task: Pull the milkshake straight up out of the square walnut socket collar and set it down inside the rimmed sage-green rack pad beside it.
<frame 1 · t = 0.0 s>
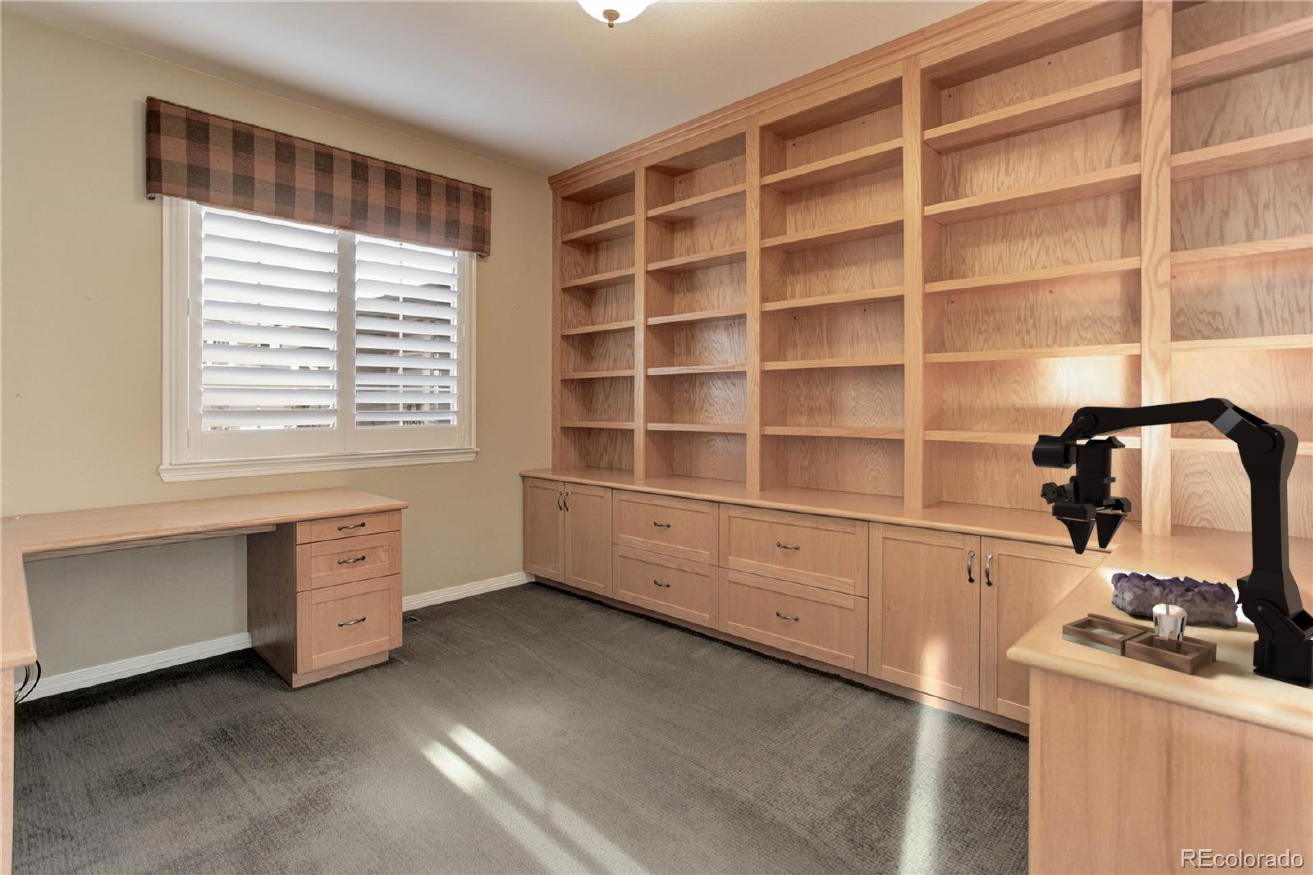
hand: (1091, 551, 125), 15 cm above the worktop, fingers open, 9 cm apart
milkshake: (1167, 660, 109), resting in divided wooden tray
divided wooden tray: (1133, 650, 113), on the worktop
geode: (1171, 618, 131), on the worktop
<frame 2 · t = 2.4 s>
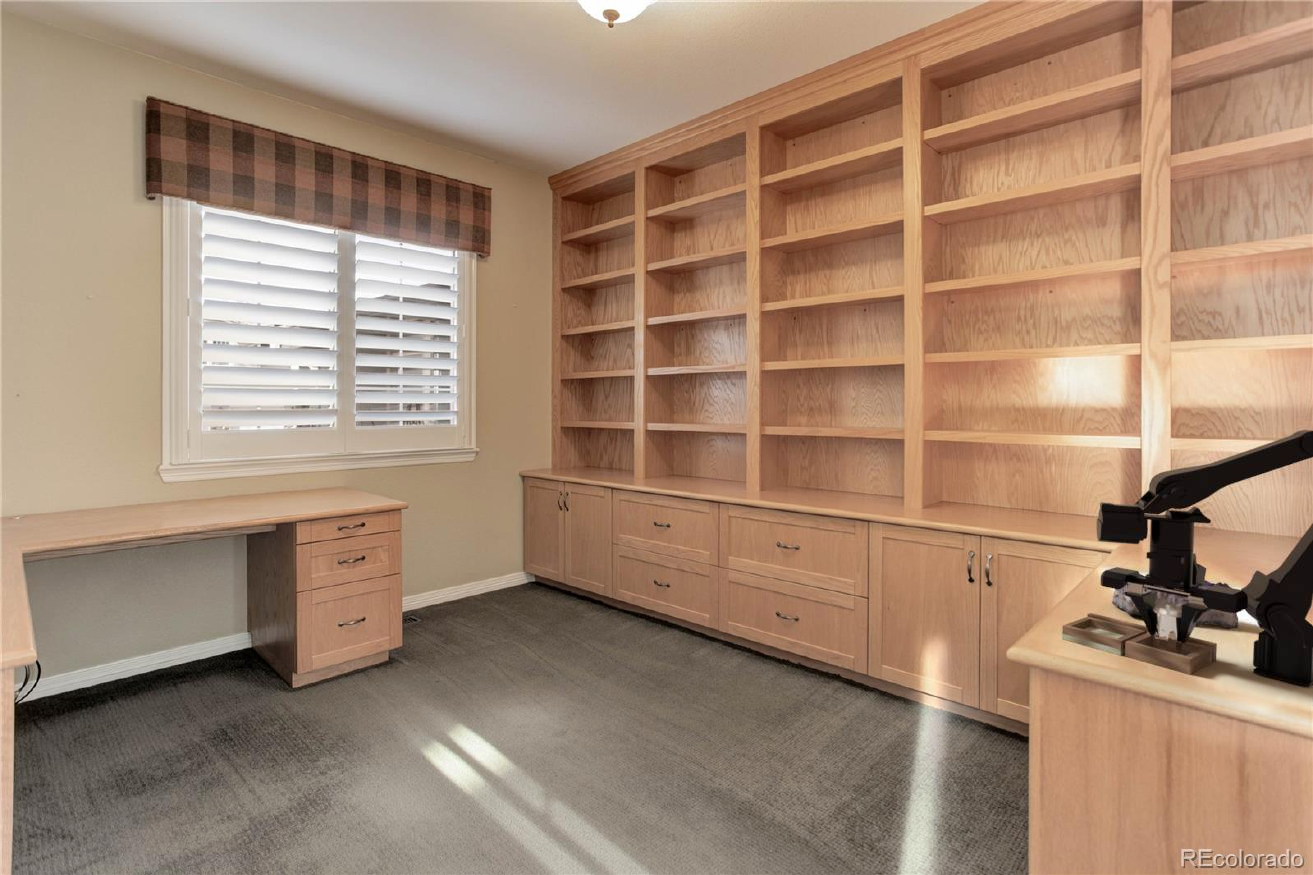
hand: (1168, 638, 108), 4 cm above the worktop, fingers closed on milkshake, 4 cm apart
milkshake: (1167, 660, 109), resting in divided wooden tray, touching gripper
everything else where it was.
when the fingers open (6 cm above the worktop, at t = 6.5 s): milkshake drops 1 cm, resting on divided wooden tray.
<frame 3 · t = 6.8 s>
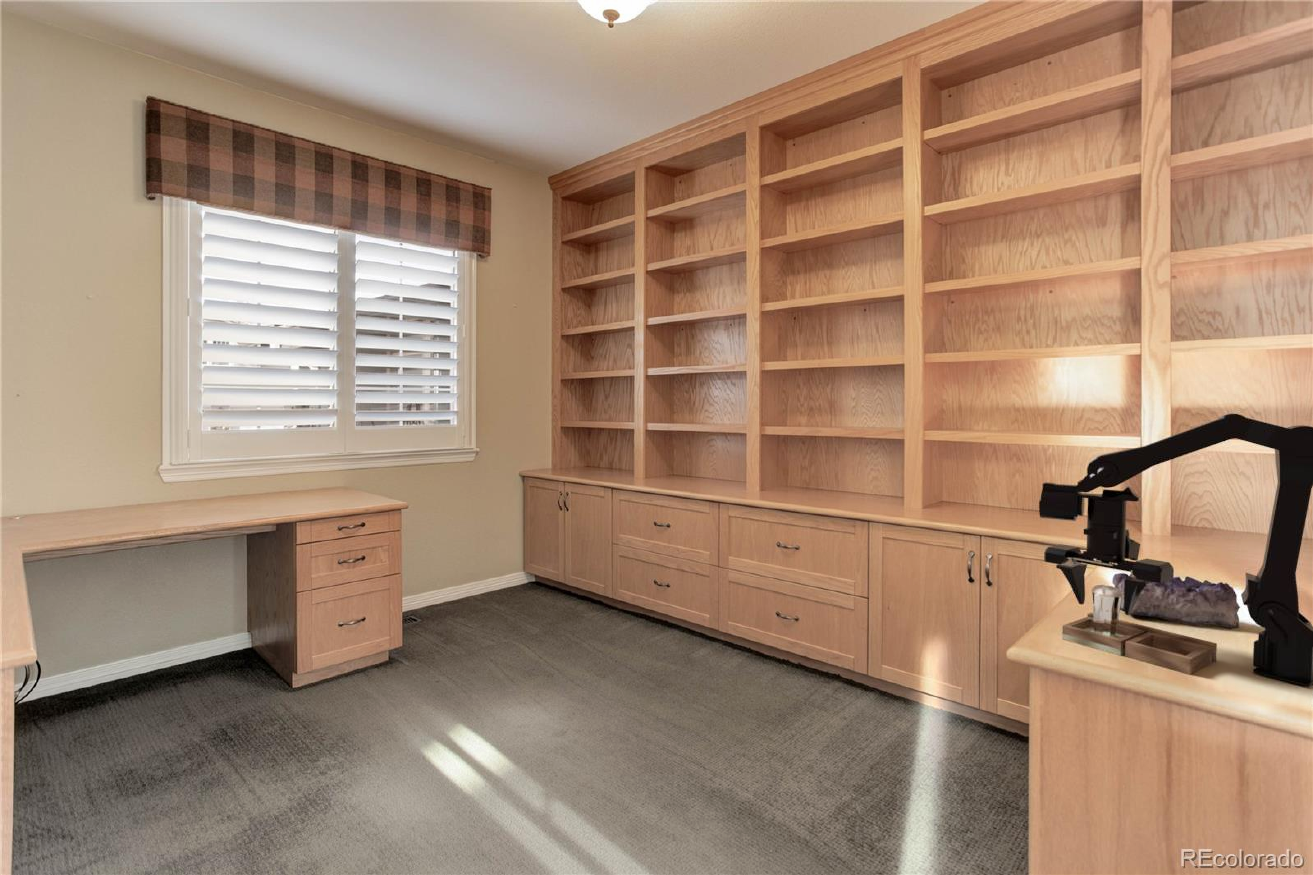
hand: (1104, 609, 117), 6 cm above the worktop, fingers open, 7 cm apart
milkshake: (1104, 637, 117), point 1 cm above the worktop, touching divided wooden tray
everything else where it was.
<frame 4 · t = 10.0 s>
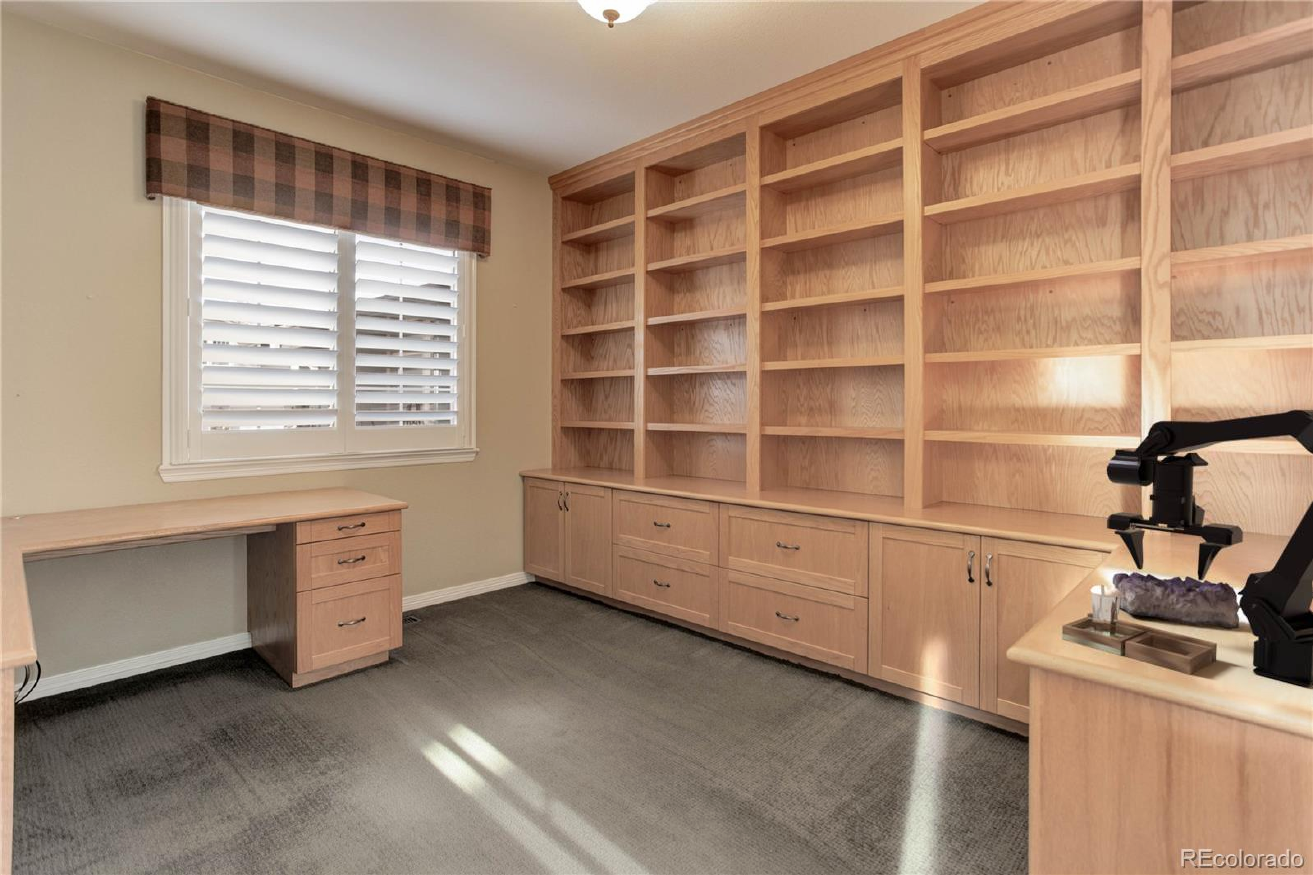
hand: (1169, 574, 118), 12 cm above the worktop, fingers open, 9 cm apart
nothing on the worktop moved.
at the end: milkshake 0.2 cm from the target spot on the divided wooden tray, point 0.8 cm above the divided wooden tray's base; milkshake tilted 0°; the gripper is holding nothing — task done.
